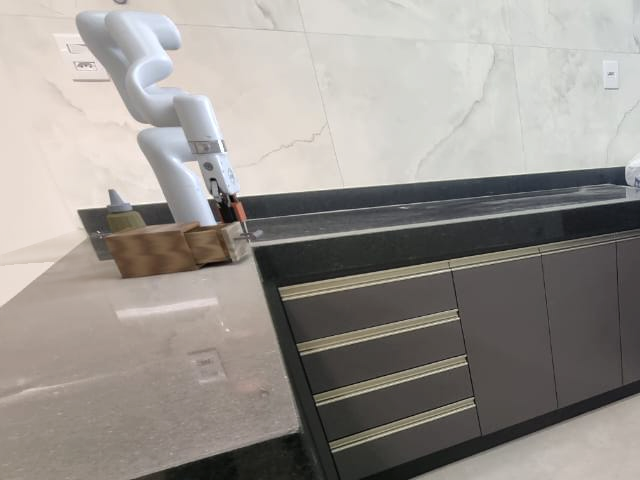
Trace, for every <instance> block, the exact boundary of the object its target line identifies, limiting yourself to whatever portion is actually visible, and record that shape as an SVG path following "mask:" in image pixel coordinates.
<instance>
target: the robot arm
mask: <svg viewBox="0 0 640 480" xmlns="http://www.w3.org/2000/svg"><path fill="white" fill-rule="evenodd" d="M74 21H75V26H76V29H77V31H78V34H79V36H80V38H81V40H82V42H83V43H84V45H85V46H86V48H87V49H88V50H89V52H91V54H92V56H93V57H94V58H95V60H97V61H98V62H99V64H100V65H101V66H102V67H103V68H104V70H105V71H106V72H107V73H108V75H109V76H110V79H111V80H112V83H113V84H114V87H115V88H116V91H117V92H118V94H119V96H120V99H121V100H122V102H123V105H124V106H125V108H126V110H127V111H128V113H129V114H130V116H131V117H132V119H134V120H135V121H136V122H137V123H140V124H143V125H149V126H153V127H148V128H144V129H142V130H140V131H139V132H138V133H137V135H136V142H137V144H138V147H139V150H140V151H141V152H142V154H143V156H144V157H145V159H146V161H147V162H148V164H149V165H150V168H151V170H152V171H153V173H154V175H155V177H156V180H157V182H158V184H159V187H160V189H161V191H162V195H163V196H164V198H165V202H166V203H167V205H168V208H169V210H170V213H171V215H172V218H173V220H174V222H175V223H185V222H196V221H199V222H200V225H201V226H209V225H218V222H216V219H215V216H214V214H213V211H212V208H211V206H210V203H209V200H208V199H207V196H206V193H205V190H204V188H203V185H202V183H201V179H200V178H199V176H198V175H197V174H196V173H195V172H194V171H192V170H191V169H189V168H188V167H187V166H185V164H183V163H188V162H197V164H198V166H199V170H200V173H201V176H202V179H203V182H204V185H205V187H206V190H207V192H208V194H209V195H210V196H212V198H213V200H214V202H216V206H218V208H219V211H220V213H221V216H222V219H223V222H224V223H228V224H231V223H233V222H238V218H237V215H236V213H235V210H234V207H232V206H231V203H235V202H240V201H239V199H238V196H237V193H239V192H240V191H241V186H240V183H239V181H238V178H237V176H236V173H235V171H234V168H233V166H232V164H231V161H230V159H229V157H228V154H229V151H228V148H227V144H226V142H225V140H224V136H223V133H222V130H221V127H220V125H219V122H218V119H217V116H216V113H215V110H214V107H213V105H212V102H211V100H210V99H209V97H208V96H206V95H203V94H192V93H190V92H188V91H187V90H186V89H183V88H181V87H177V86H176V87H175V86H157V85H156V84H157V83H159V82H161V81H163V80H165V79H167V78H169V77H170V76H171V74H172V73H173V72H174V63H173V60H172V59H171V58H170V56H169V55H168V53H167V52H166V51H178V50H180V49H181V48H182V44H183V42H182V40H183V39H182V36H181V33H180V31H179V29H178V27H177V26H176V24H175V23H174V22H173V20H172V19H170V18H169V17H168V16H167V15H165V14H164V13H159V12H153V11H151V12H150V11H141V10H139V11H138V10H129V9H116V10H112V11H111V10H96V9H95V10H93V9H92V10H84V11H81V12H79V13H77V14H76V16H75V20H74Z"/></svg>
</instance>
